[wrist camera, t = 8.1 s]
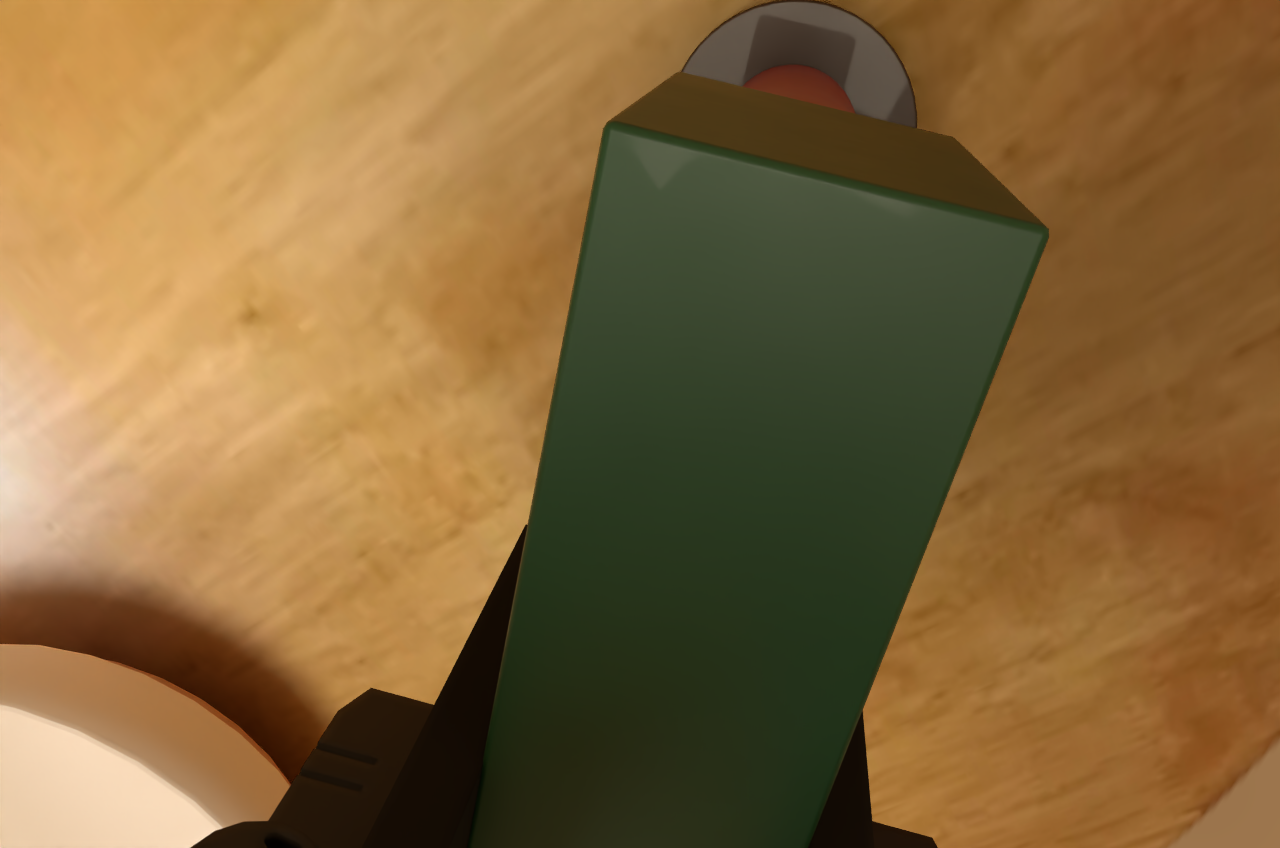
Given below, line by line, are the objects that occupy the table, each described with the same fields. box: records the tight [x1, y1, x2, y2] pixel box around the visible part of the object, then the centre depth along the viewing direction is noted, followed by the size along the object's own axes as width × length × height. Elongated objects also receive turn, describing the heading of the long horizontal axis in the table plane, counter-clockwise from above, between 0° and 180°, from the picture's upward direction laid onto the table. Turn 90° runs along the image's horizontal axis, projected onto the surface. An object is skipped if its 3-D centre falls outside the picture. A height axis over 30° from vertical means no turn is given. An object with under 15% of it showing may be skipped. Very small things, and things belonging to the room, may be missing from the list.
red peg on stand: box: [681, 0, 917, 128], centre depth 21 cm, size 6×6×9 cm
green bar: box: [467, 72, 1049, 848], centre depth 13 cm, size 4×16×5 cm, turn 168°
